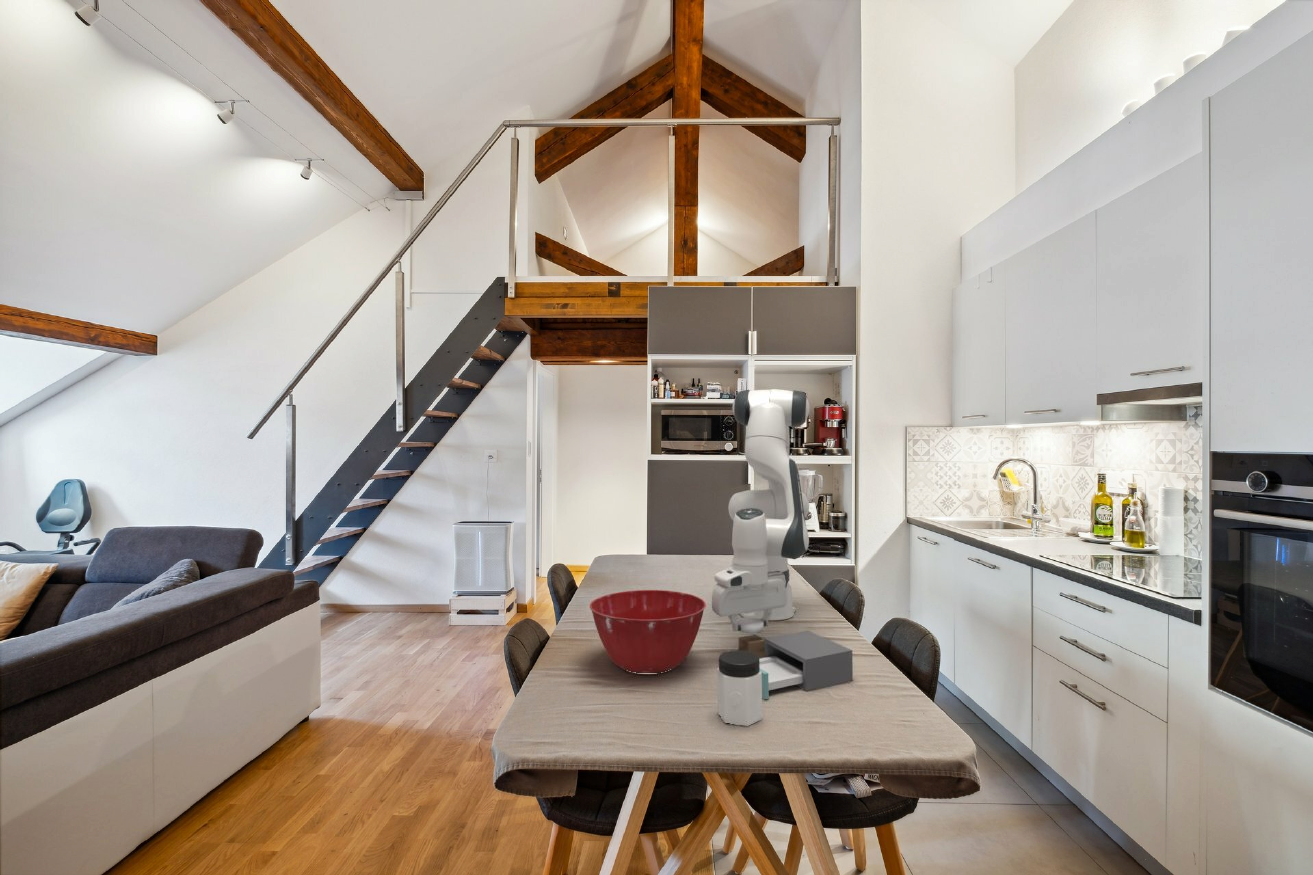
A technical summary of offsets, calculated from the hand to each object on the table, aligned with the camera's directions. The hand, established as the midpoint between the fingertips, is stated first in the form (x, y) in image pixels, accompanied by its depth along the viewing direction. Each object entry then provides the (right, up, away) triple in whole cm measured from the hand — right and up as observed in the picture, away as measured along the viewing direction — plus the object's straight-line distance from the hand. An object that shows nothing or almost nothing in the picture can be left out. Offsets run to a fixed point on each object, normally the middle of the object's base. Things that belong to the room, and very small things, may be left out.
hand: (750, 628), depth 158 cm
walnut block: (0, -7, -1) cm, 7 cm away
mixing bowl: (-26, -8, -4) cm, 27 cm away
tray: (+2, -7, -16) cm, 17 cm away
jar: (-7, -8, -33) cm, 34 cm away
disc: (0, 0, 0) cm, 0 cm away
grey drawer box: (+12, -7, -11) cm, 18 cm away
